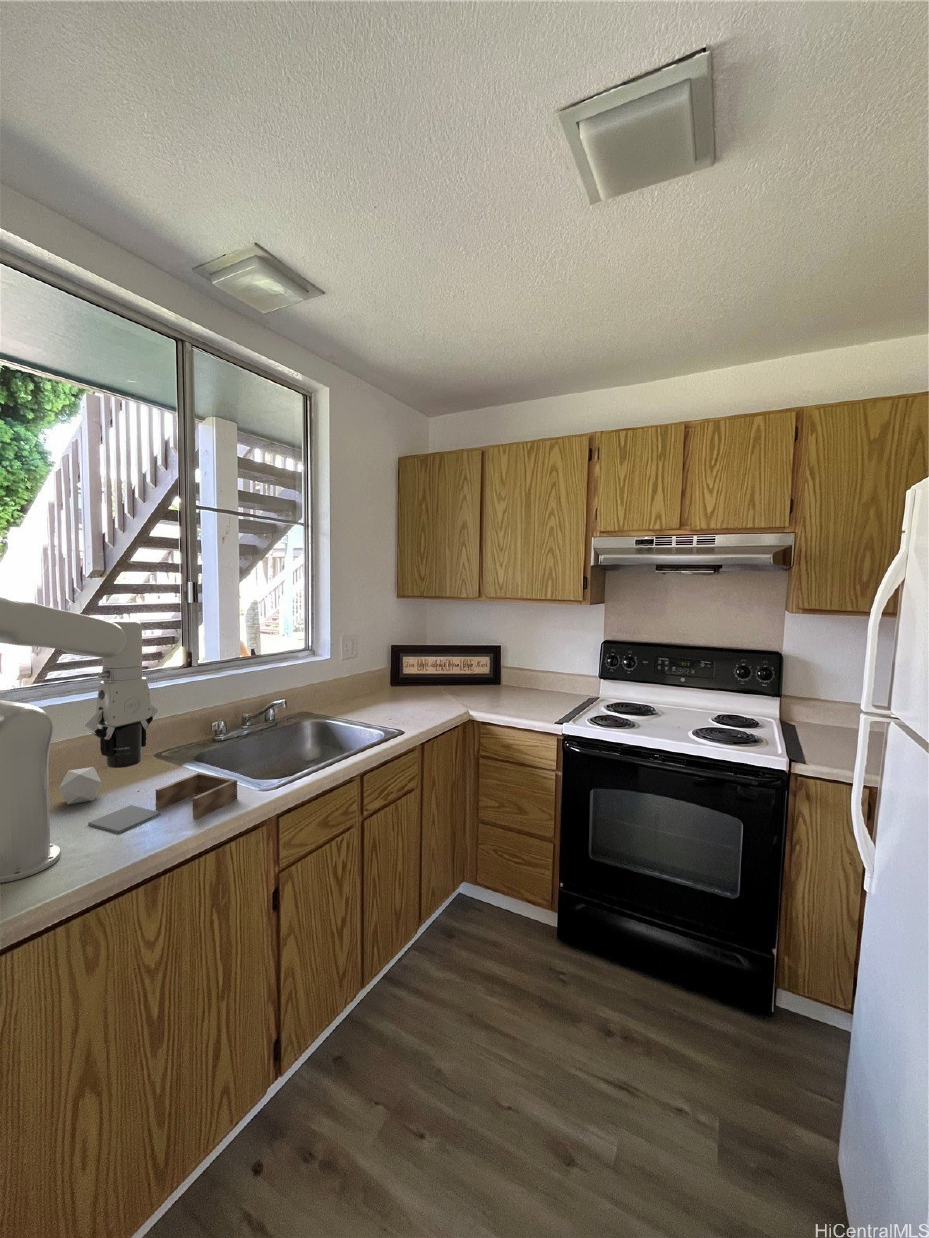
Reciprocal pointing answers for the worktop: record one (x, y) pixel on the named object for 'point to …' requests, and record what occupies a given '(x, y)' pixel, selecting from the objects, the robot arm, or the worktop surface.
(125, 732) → the supplement bottle
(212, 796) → the cubby
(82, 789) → the die
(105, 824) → the pad
